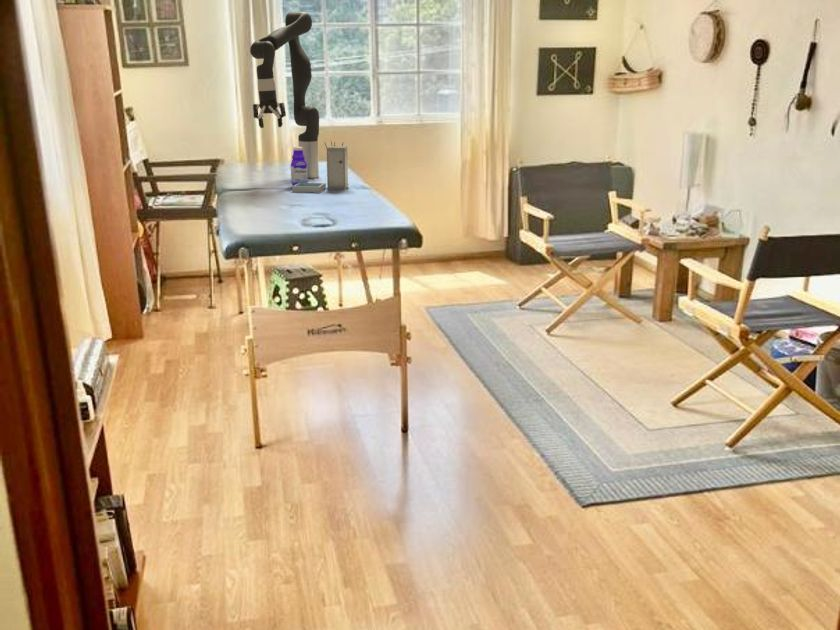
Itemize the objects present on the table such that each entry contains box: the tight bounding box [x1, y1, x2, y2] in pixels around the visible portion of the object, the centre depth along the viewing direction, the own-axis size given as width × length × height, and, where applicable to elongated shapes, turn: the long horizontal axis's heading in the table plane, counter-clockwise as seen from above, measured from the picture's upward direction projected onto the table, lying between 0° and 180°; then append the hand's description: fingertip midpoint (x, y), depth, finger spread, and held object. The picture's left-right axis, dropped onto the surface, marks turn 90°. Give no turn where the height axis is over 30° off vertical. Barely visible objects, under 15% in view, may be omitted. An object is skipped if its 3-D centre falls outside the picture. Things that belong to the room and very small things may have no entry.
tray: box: [291, 182, 327, 193], centre depth 351 cm, size 12×12×2 cm
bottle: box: [290, 146, 309, 187], centre depth 359 cm, size 7×6×17 cm
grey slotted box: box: [326, 145, 349, 190], centre depth 355 cm, size 7×8×18 cm
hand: (271, 127), depth 358 cm, fingers open, 8 cm apart
